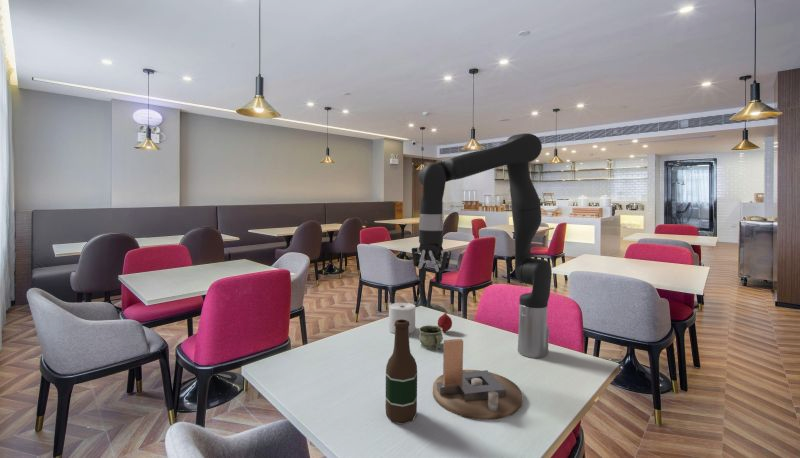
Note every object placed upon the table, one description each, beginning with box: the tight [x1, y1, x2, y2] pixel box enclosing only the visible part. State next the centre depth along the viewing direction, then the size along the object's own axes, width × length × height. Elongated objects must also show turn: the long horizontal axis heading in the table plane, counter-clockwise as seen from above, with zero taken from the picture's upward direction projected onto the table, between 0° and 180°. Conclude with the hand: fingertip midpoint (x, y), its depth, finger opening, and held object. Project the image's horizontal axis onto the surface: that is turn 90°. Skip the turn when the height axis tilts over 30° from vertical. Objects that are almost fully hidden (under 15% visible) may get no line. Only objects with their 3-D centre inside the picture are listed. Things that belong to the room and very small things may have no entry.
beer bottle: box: [385, 319, 418, 425], centre depth 94 cm, size 8×8×24 cm
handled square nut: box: [437, 338, 506, 401], centre depth 104 cm, size 17×11×14 cm
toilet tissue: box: [388, 301, 416, 335], centre depth 156 cm, size 11×12×10 cm
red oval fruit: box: [437, 312, 453, 333], centre depth 153 cm, size 6×6×8 cm
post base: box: [432, 369, 523, 421], centre depth 105 cm, size 24×24×6 cm
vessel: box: [418, 324, 444, 351], centre depth 140 cm, size 12×9×6 cm
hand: (430, 281), depth 121 cm, fingers open, 5 cm apart
